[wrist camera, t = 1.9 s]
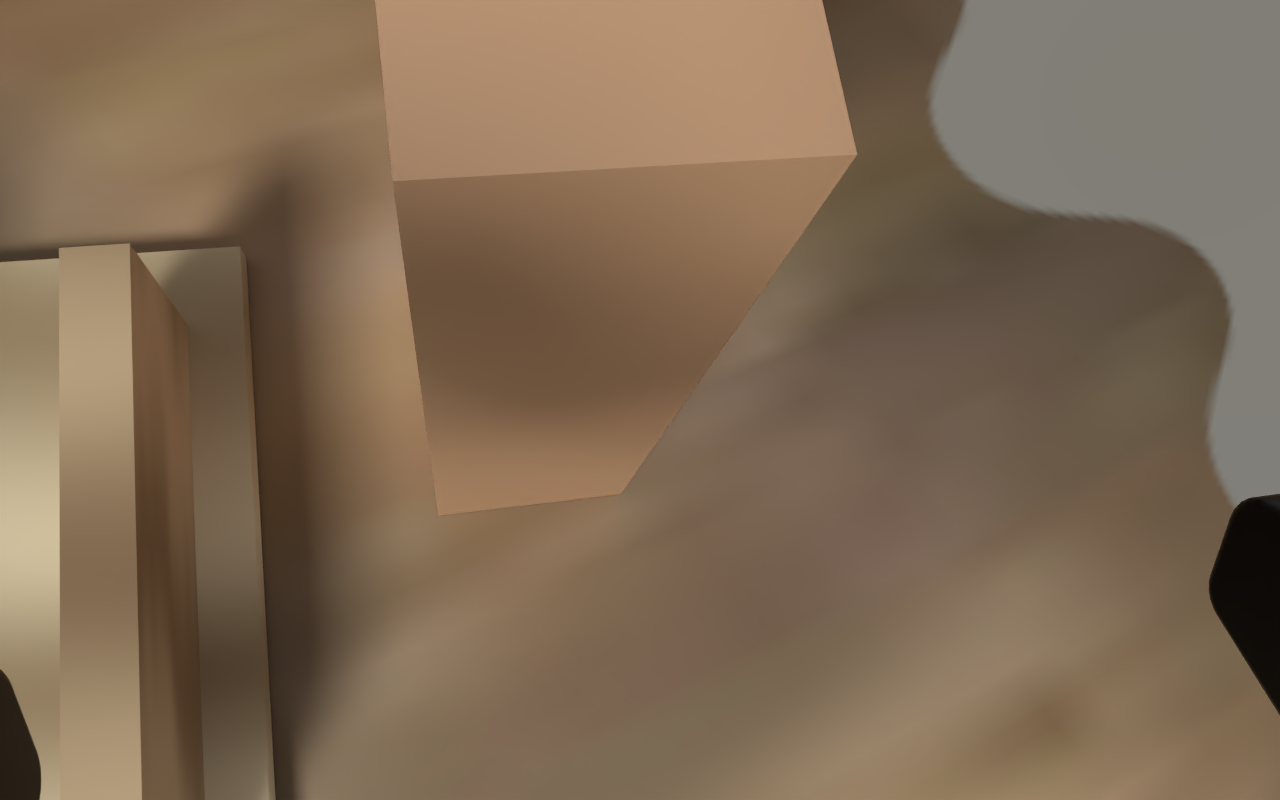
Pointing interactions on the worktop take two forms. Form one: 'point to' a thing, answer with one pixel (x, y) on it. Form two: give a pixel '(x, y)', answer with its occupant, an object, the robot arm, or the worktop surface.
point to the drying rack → (133, 524)
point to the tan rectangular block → (592, 216)
